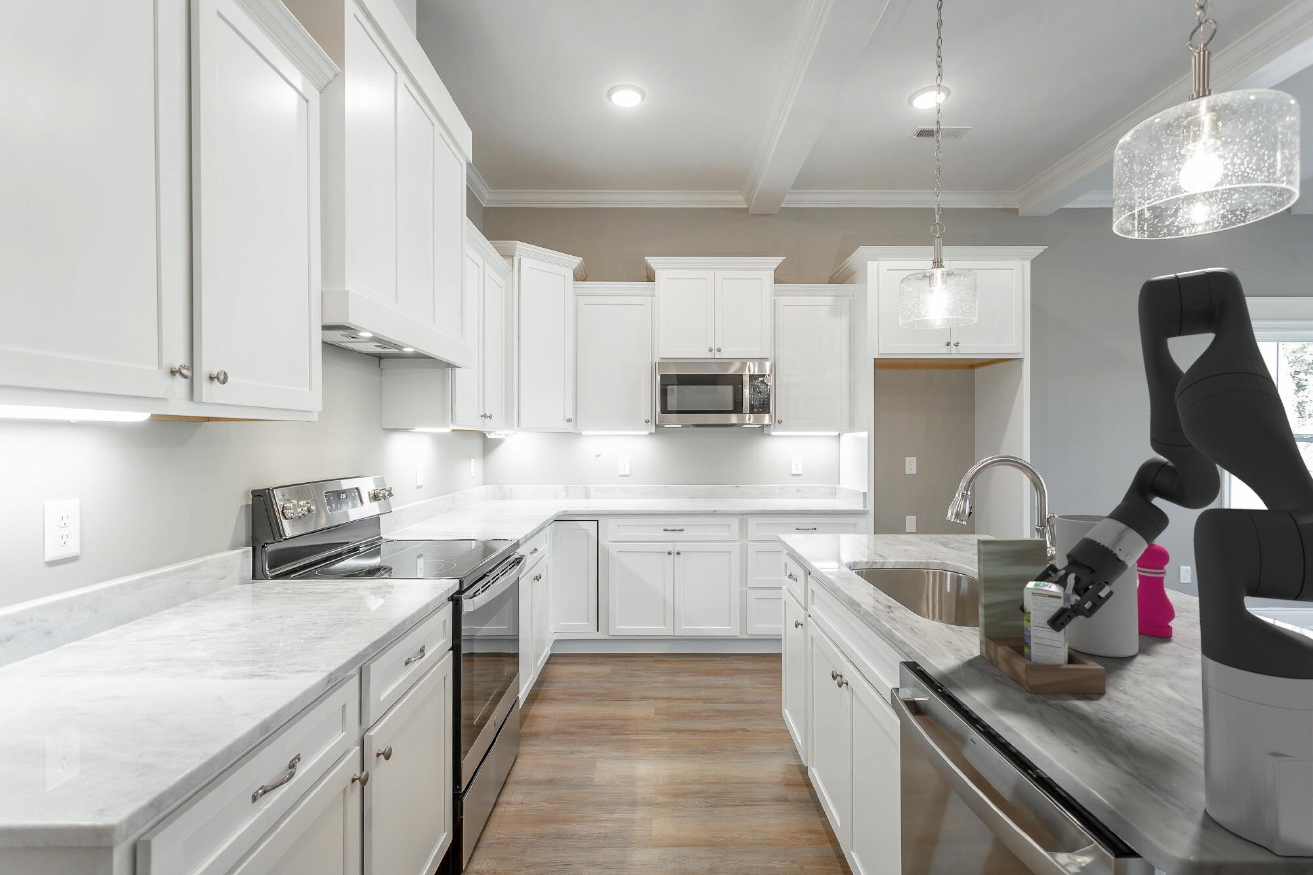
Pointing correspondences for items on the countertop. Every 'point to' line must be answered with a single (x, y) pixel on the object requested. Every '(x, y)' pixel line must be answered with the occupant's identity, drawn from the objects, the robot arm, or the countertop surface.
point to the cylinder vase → (1117, 616)
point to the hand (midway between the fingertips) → (1037, 620)
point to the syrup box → (1044, 624)
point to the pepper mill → (1153, 593)
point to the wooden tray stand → (1022, 619)
